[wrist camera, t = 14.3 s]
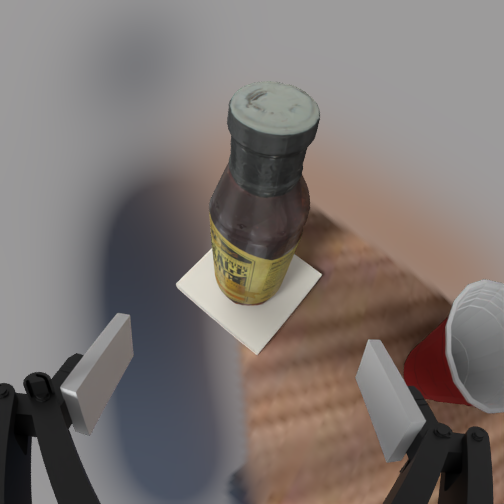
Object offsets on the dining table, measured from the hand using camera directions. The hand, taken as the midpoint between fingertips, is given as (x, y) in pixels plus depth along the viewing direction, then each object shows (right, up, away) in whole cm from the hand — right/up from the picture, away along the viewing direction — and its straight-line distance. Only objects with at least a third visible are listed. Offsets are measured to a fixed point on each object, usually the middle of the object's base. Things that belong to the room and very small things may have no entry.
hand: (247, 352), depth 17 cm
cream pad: (0, +2, +15) cm, 15 cm away
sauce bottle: (0, +3, +14) cm, 14 cm away
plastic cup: (+18, -7, +12) cm, 22 cm away
